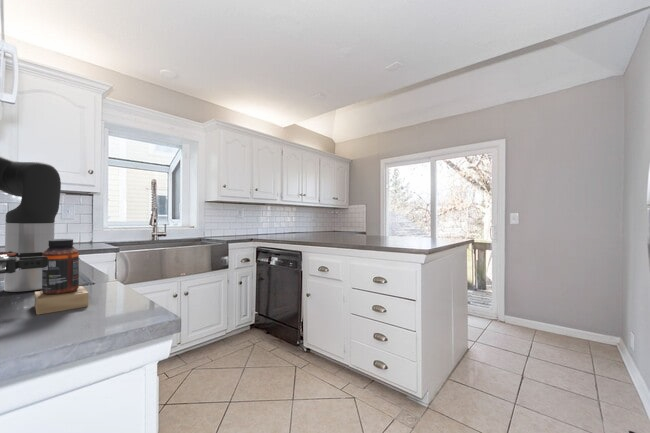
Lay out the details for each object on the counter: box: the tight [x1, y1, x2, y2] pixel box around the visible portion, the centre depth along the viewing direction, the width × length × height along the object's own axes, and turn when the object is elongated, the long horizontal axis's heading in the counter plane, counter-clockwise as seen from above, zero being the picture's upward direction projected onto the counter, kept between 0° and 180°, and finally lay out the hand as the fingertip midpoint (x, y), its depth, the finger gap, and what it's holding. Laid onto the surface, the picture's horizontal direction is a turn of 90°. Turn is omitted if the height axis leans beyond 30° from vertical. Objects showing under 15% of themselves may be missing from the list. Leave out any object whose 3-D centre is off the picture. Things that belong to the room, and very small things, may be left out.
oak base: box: [34, 285, 89, 315], centre depth 64 cm, size 8×8×3 cm
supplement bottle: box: [41, 238, 80, 294], centre depth 64 cm, size 6×6×11 cm
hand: (45, 259), depth 62 cm, fingers open, 8 cm apart
